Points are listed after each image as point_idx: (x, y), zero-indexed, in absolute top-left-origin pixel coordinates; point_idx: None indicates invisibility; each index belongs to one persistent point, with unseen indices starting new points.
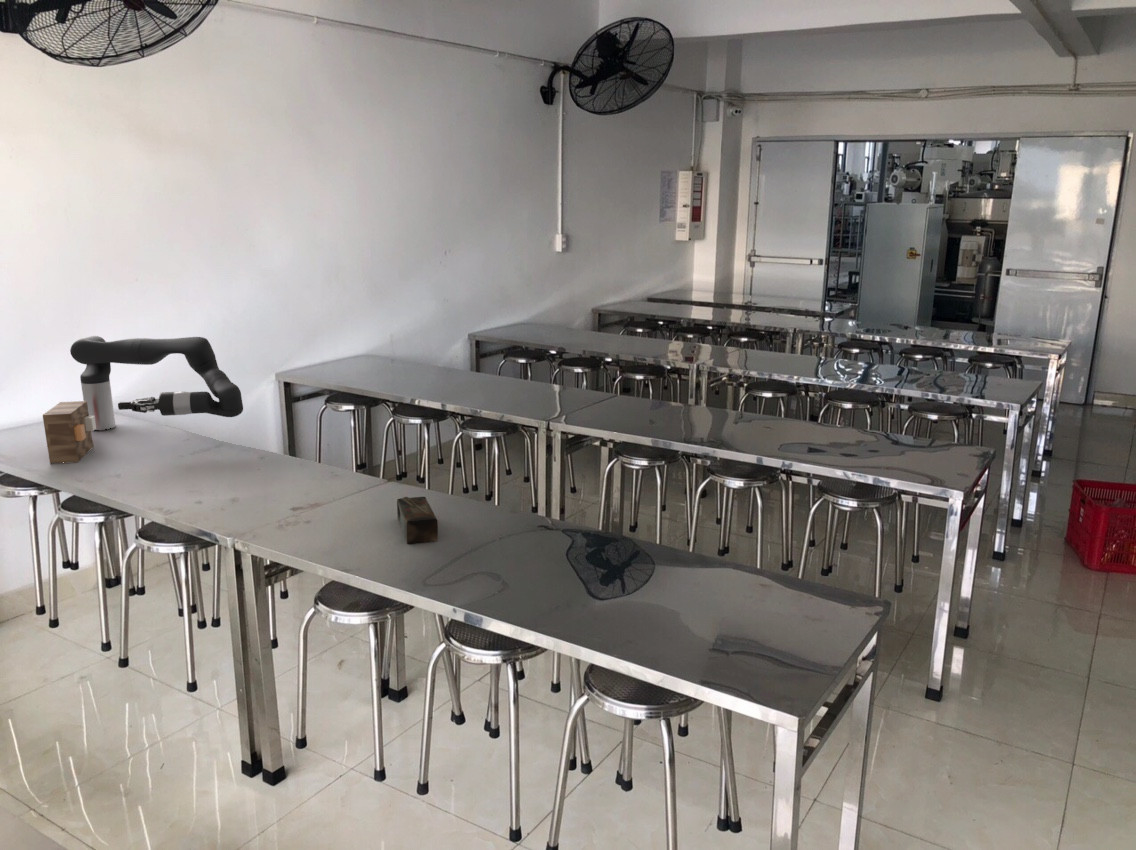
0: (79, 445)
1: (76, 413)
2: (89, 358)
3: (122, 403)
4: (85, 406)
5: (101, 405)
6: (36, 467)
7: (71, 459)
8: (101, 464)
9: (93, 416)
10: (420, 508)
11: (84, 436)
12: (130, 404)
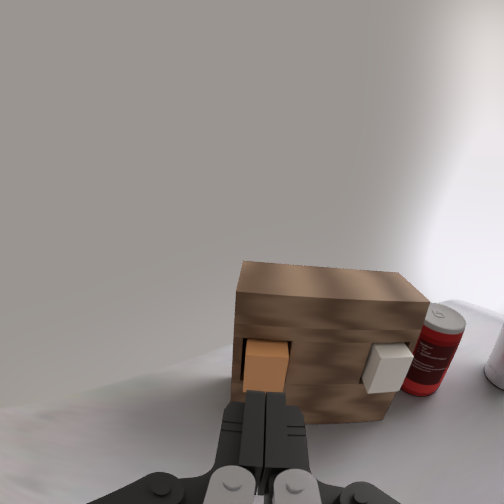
0: None
1: (302, 310)
2: None
3: (242, 413)
4: (406, 314)
5: None
6: (218, 360)
7: None
8: (181, 470)
9: (403, 358)
10: None
11: (268, 388)
12: (206, 473)
